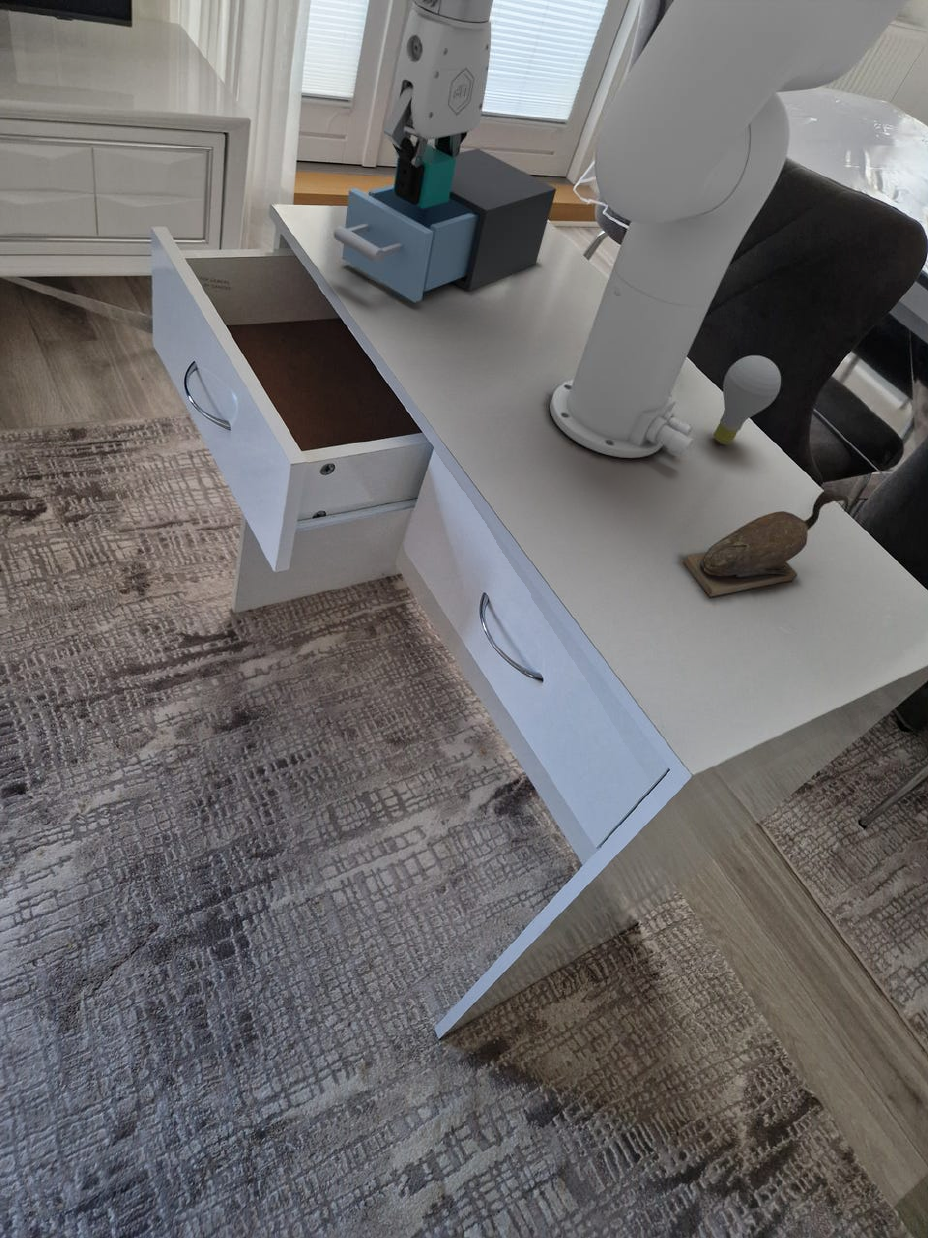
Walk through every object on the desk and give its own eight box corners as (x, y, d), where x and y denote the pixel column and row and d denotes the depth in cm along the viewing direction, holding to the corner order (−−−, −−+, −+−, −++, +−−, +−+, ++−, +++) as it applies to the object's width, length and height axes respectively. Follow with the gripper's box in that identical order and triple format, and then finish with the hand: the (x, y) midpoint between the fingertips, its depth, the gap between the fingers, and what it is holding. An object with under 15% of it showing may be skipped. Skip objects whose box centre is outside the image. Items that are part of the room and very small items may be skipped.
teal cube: (448, 201, 92) (456, 159, 88) (423, 208, 89) (430, 165, 86) (418, 185, 93) (425, 142, 90) (392, 191, 90) (398, 148, 87)
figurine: (796, 541, 78) (846, 469, 72) (826, 574, 76) (880, 503, 69) (681, 561, 72) (724, 486, 66) (709, 598, 70) (756, 523, 64)
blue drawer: (386, 313, 89) (397, 243, 83) (312, 267, 92) (317, 197, 87) (485, 274, 100) (500, 209, 94) (416, 235, 104) (426, 170, 98)
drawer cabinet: (468, 291, 98) (486, 210, 91) (391, 246, 102) (403, 165, 95) (535, 264, 107) (556, 188, 100) (462, 223, 111) (477, 147, 104)
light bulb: (719, 462, 84) (764, 378, 77) (686, 430, 87) (727, 347, 80) (755, 453, 87) (802, 371, 80) (721, 423, 90) (764, 341, 82)
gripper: (426, 14, 71) (396, 224, 85) (533, 8, 82) (491, 196, 95) (364, -15, 74) (344, 194, 87) (476, -17, 84) (443, 169, 97)
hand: (421, 193), depth 91 cm, fingers closed on teal cube, 4 cm apart
